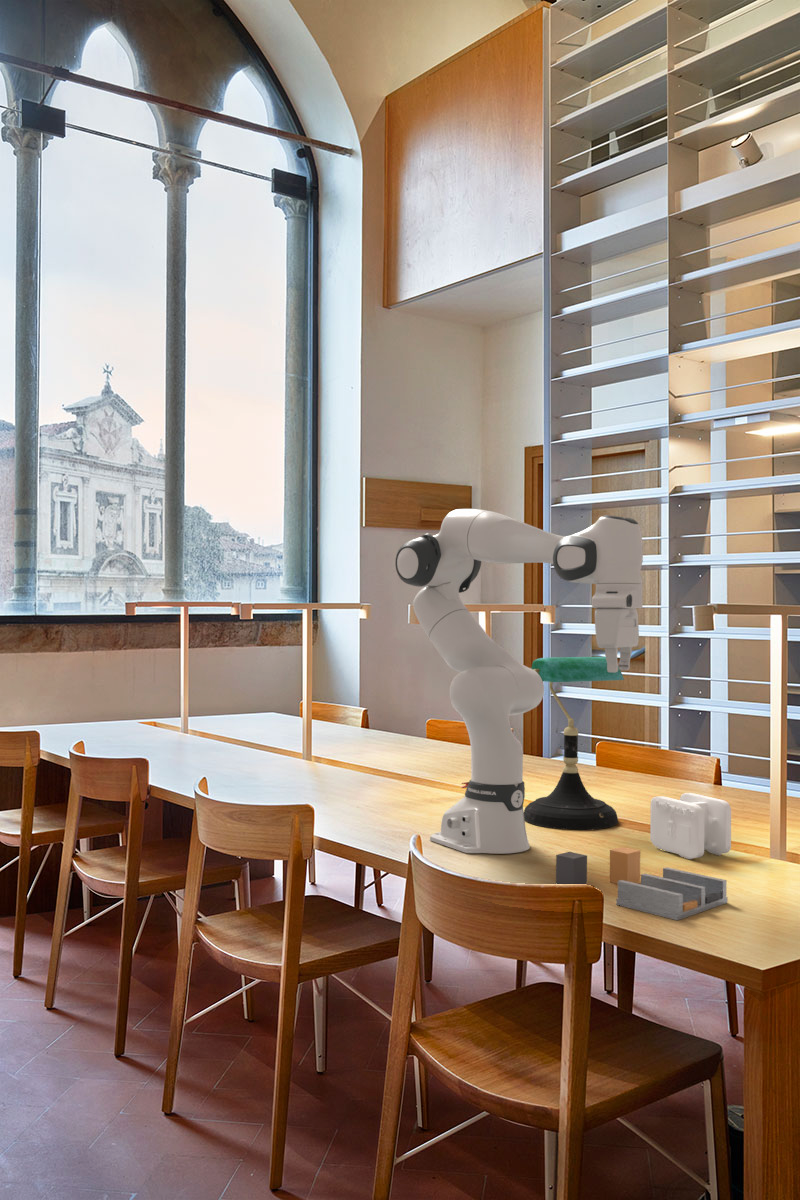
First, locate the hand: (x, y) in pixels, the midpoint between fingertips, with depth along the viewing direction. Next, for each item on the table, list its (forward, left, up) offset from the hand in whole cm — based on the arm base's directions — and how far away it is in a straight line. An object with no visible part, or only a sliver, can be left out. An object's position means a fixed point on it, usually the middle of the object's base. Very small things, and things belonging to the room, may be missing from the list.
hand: (618, 671), depth 196 cm
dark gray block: (-1, -13, -39) cm, 41 cm away
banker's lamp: (-40, +37, -40) cm, 67 cm away
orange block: (+3, -2, -39) cm, 40 cm away
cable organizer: (-2, +29, -40) cm, 49 cm away
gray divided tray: (+17, -8, -39) cm, 44 cm away
